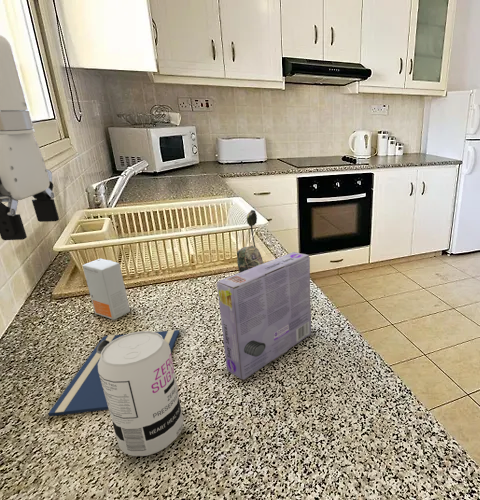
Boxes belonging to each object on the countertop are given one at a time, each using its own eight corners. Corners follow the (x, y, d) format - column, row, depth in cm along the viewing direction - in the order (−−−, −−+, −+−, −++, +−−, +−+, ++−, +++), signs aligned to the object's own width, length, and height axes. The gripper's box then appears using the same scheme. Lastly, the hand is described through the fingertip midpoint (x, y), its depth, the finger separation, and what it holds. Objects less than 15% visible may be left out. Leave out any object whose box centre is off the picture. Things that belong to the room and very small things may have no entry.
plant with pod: (229, 293, 92) (220, 215, 85) (261, 277, 101) (256, 205, 94) (253, 302, 88) (246, 222, 81) (284, 284, 97) (281, 210, 90)
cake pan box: (298, 323, 80) (296, 247, 74) (316, 332, 78) (315, 253, 71) (224, 371, 66) (213, 281, 59) (243, 383, 63) (233, 290, 56)
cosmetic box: (94, 314, 82) (81, 264, 77) (112, 305, 85) (100, 257, 81) (113, 320, 80) (101, 270, 75) (131, 311, 83) (120, 262, 79)
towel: (49, 416, 55) (47, 413, 55) (104, 338, 74) (103, 335, 73) (150, 404, 58) (149, 401, 58) (179, 332, 76) (179, 329, 76)
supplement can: (123, 422, 55) (100, 336, 49) (184, 406, 58) (169, 323, 52) (115, 468, 48) (88, 374, 42) (184, 447, 51) (167, 357, 46)
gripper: (9, 120, 64) (37, 216, 70) (-77, 126, 48) (-31, 249, 55) (58, 120, 65) (81, 214, 72) (-10, 127, 50) (27, 246, 56)
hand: (33, 229), depth 63 cm, fingers open, 9 cm apart
